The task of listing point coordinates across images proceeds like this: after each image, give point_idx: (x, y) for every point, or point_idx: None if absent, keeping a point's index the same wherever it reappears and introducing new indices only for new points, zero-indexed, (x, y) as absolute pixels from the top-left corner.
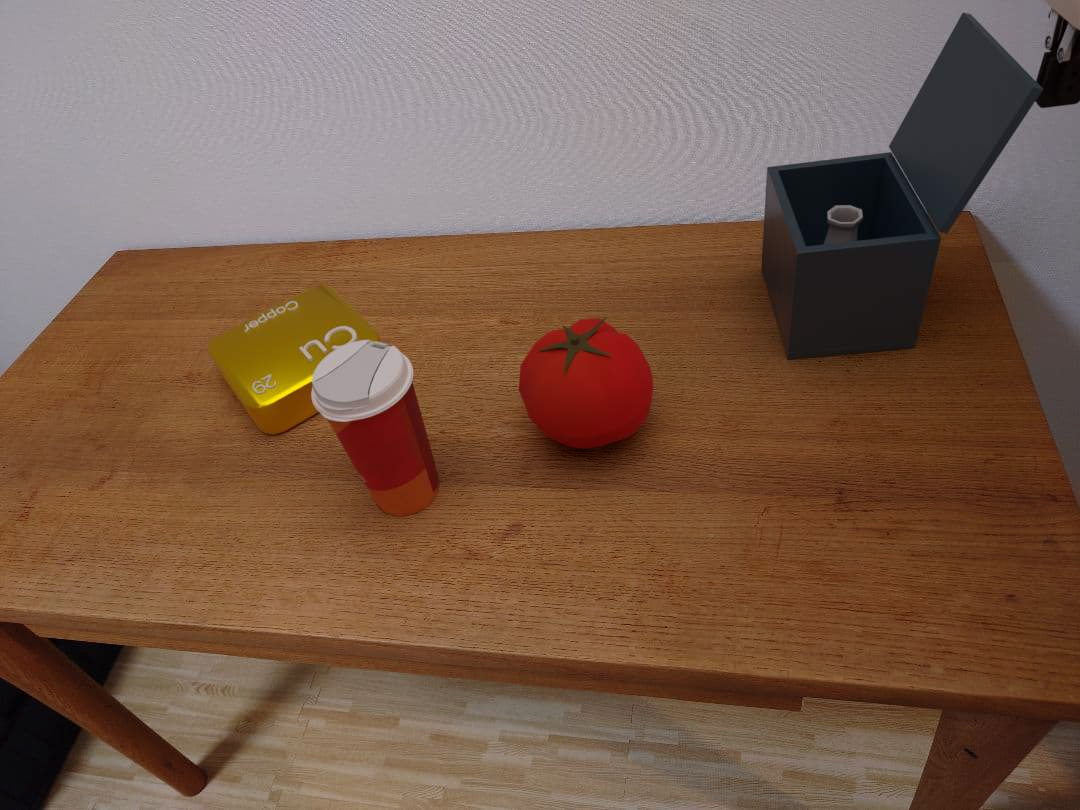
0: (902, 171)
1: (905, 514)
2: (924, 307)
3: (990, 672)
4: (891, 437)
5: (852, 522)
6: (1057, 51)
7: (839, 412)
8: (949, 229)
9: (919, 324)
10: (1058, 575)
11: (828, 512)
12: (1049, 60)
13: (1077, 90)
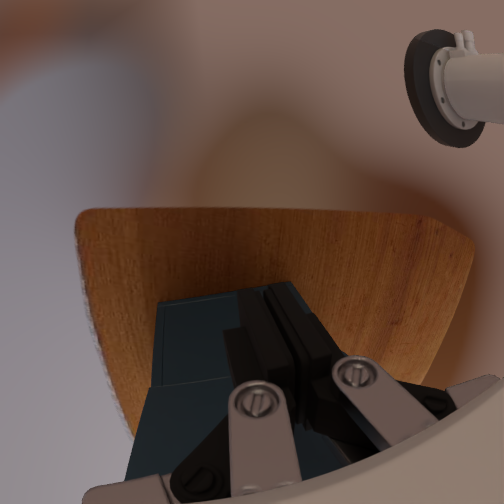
0: (199, 381)
1: (411, 294)
2: (306, 304)
3: (466, 268)
4: (367, 300)
5: (407, 316)
6: (322, 438)
7: (342, 327)
8: (343, 352)
9: (299, 294)
10: (449, 233)
11: (400, 327)
12: (303, 425)
13: (316, 320)
